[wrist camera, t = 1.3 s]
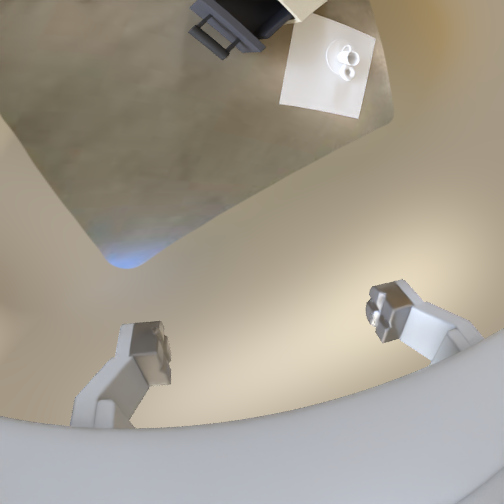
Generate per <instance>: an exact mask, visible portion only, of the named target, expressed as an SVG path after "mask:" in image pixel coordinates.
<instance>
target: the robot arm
mask: <svg viewBox="0 0 504 504" xmlns="http://www.w3.org/2000/svg"><path fill="white" fill-rule="evenodd" d="M369 295H370V297H371V299H370V300H369V301H368V302H367V305H366V316H367V319H368V321H369V323H370V324H371V325H373V326H375V327H376V331H375V332H376V334H377V335H378V337H379V338H380V340H381V342H382V343H385V342H389V341H392V340H396V339H399V338H400V340H401V341H402V342H404V343H406V344H407V345H408V346H410V347H411V348H413V349H414V350H416V351H417V352H419V353H420V354H422V355H423V356H425V357H427V358H428V359H430V360H431V363H430V365H429V366H427V367H425V368H423V369H420V370H418V371H415V372H413V373H410V374H408V375H405V376H403V377H400V378H398V379H395V380H392V381H390V382H387V383H384V384H381V385H378V386H375V387H373V388H370V389H367V390H364V391H361V392H357V393H354V394H351V395H348V396H344V397H341V398H338V399H334V400H330V401H327V402H323V403H319V404H315V405H311V406H307V407H303V408H299V409H295V410H290V411H285V412H281V413H276V414H271V415H265V416H260V417H254V418H248V419H242V420H235V421H229V422H221V423H213V424H204V425H194V426H182V427H167V428H139V429H136V428H135V427H134V426H133V425H132V424H131V423H130V421H129V420H130V418H131V417H132V415H133V413H134V411H135V410H136V408H137V407H138V405H139V404H140V402H141V400H142V399H143V397H144V395H145V394H146V392H147V391H148V389H149V386H159V385H169V384H171V369H170V367H169V362H170V361H171V352H170V345H169V341H168V338H167V336H165V335H164V326H163V324H162V322H161V321H154V322H143V323H133V324H123V325H122V326H121V328H120V334H119V338H118V344H117V349H116V355H115V357H114V358H111V359H110V360H109V361H108V362H107V363H106V364H105V365H104V366H103V367H102V369H101V370H100V371H99V372H98V373H97V374H96V375H95V376H94V378H92V380H91V381H90V382H89V383H88V384H87V385H86V386H85V387H84V388H83V389H82V391H81V392H80V393H79V394H78V395H77V396H76V397H75V400H74V405H73V410H72V416H71V422H70V426H62V425H53V424H44V423H37V422H30V421H24V420H18V419H12V418H8V417H3V416H0V504H504V328H503V329H501V330H499V331H498V332H496V333H494V334H492V335H490V336H489V337H487V338H485V339H484V338H483V336H482V335H481V334H480V333H479V332H478V330H477V329H476V328H475V327H474V326H473V324H472V323H471V322H470V321H468V320H466V319H464V318H462V317H460V316H458V315H455V314H453V313H451V312H449V311H447V310H444V309H442V308H440V307H438V306H435V305H433V304H431V303H429V302H423V300H422V299H421V298H420V297H419V296H418V295H417V293H416V292H415V291H414V290H413V289H412V288H411V287H410V286H409V284H408V283H407V282H406V281H405V280H403V279H402V280H398V281H394V282H390V283H385V284H381V285H377V286H372V288H371V289H370V293H369Z"/></svg>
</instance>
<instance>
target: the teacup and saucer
mask: <svg viewBox="0 0 504 504" xmlns="http://www.w3.org/2000/svg"><path fill="white" fill-rule="evenodd" d="M325 59H326V63H327V65H328V67H329V69H330V70H331V71H332V72H333V73H335V74H336V75H338V76H341V78H342V79H343V80H345V81H347V82H351V81H353V80H354V79H355V78H356V75H357V72H356V67H357V65H358V64H359V63H360V60H361V58H360V55H359V53H358V52H357V49H356V48H355V46H354V45H353V44H352V43H351V42H350V41H348V40H347V39H343V38H338V39H335V40H333V41H332V42H331V43H330V44H329V45H328V47H327V49H326V53H325Z"/></svg>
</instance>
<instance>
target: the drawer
mask: <svg viewBox="0 0 504 504" xmlns="http://www.w3.org/2000/svg"><path fill="white" fill-rule="evenodd" d="M190 9H191V10H192V11H194V12H195V13H196V14H197V15H199V16H200V17H201V18H203V20H202V21H201V22H200V23H199V24H198V25H195V26H194V27H193V28H192V29H191V30H190V31H189V32H188V33H190V34H191V35H192V36H193V37H195V38H196V39H197V40H198V41H200V42H201V43H202V44H203V45H205V46H206V47H207V48H208V49H210V50H211V51H212V52H213V53H214V54H216V55H217V56H218V57H219V58H220V59H221V60H224V59H225V58H226V57H227V56H228V55H229V54H230V53H229V52H230V51H231V50H232V49H233V48H234V47H235V46H236V47H237V48H238V49H239V50H240V51H241V52H242V53H246V52H262V51H263V50H264V49H265V48H266V47H265V46H264V45H263V44H262V43H261V42H260V41H259V40H258V39H267V38H269V37H270V36H272V35H273V34H274V33H275V32H276V31H277V30H278V29H279V28H280V27H281V26H283V25H284V24H285V23H286V22H287V21H288V20H289V19H291V18H292V17H293V15H292V14H291V13H290V12H289V11H288V10H287V9H286V8H285V7H284V6H283V5H282V4H281V3H280V2H279V1H278V0H197V1H196V2H195V3H194V4H193V5H192V6H191V7H190ZM206 22H207V23H209V24H210V25H211V26H212V27H214V28H215V29H216V30H217V31H218V32H220V33H221V34H222V35H223V36H224V37H225V38H227V39H228V40H229V41H230V42H231V43H232V44H231V45H230V46H229V47H228V48H227V49H225V48H223V47H222V46H221V45H220V44H219V43H217V42H216V41H215V40H214V39H213V38H211V37H210V36H209V35H208V34H207V33H205V32H204V31H203V30H202V29H200V27H201V26H203V25H204V24H205V23H206Z"/></svg>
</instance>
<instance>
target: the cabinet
mask: <svg viewBox="0 0 504 504" xmlns="http://www.w3.org/2000/svg"><path fill="white" fill-rule="evenodd" d="M278 1H279V2H280V3H281V4H282V5H283V6H284V7H285V8H286V9H287V10H288V11H289V12H290V13H291V14H292V15H293V17H292V18H291V19H289V20H288V21H287V22H286V23H285V24H290V23H298V22H302V21H303V20H305V19H306V18H307V17H308V16H309V15H310V14H312V13H313V12H314V11H315V10H316V9H318V8H319V7H320V6H321V5H323V4H324V3H325V2H326V1H328V0H278Z"/></svg>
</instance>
